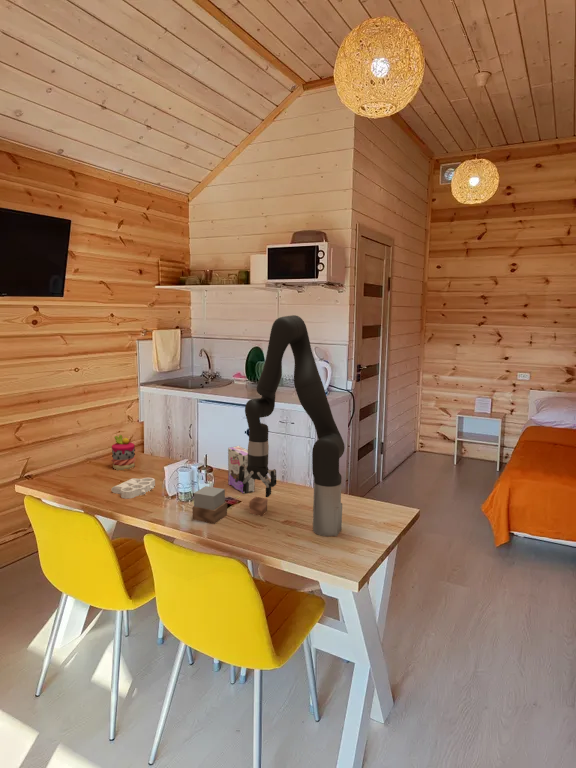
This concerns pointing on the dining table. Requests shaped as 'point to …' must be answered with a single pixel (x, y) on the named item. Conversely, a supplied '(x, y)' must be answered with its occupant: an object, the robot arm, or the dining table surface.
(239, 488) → the candy box
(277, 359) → the robot arm
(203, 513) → the tower bottom
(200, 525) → the dining table surface
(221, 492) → the tower top
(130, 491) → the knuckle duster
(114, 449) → the cake
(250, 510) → the terracotta cube
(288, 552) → the dining table surface
